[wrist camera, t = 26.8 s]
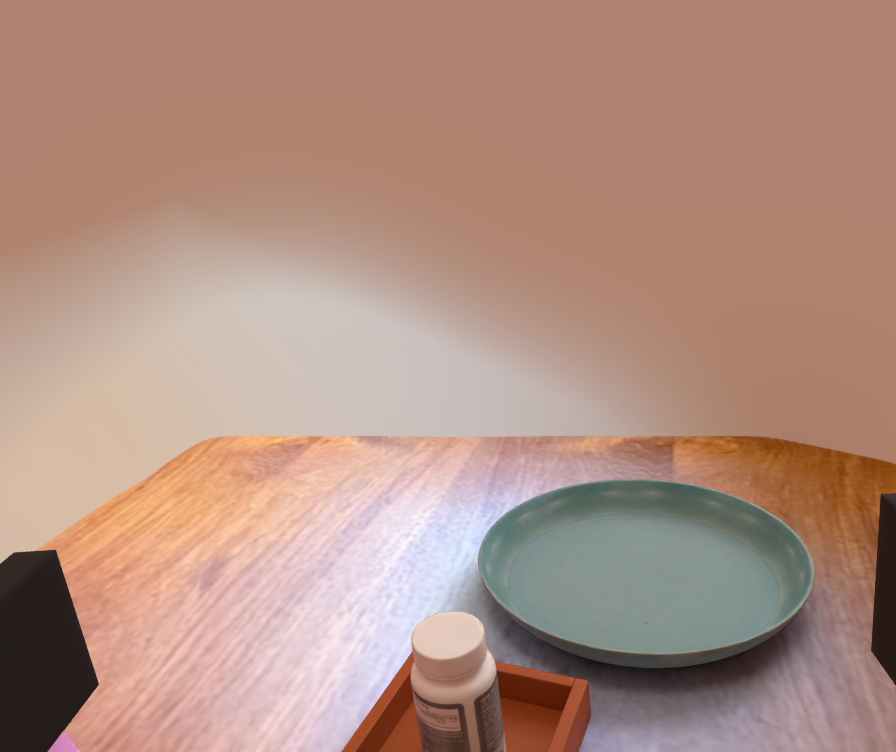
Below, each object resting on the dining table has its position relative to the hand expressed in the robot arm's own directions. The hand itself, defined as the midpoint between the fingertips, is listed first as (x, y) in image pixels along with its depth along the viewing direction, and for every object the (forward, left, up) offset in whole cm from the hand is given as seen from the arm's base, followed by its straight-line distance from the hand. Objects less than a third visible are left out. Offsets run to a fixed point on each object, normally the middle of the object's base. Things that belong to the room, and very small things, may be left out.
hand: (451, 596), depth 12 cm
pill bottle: (+11, -20, -26) cm, 35 cm away
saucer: (+5, -40, -27) cm, 49 cm away
